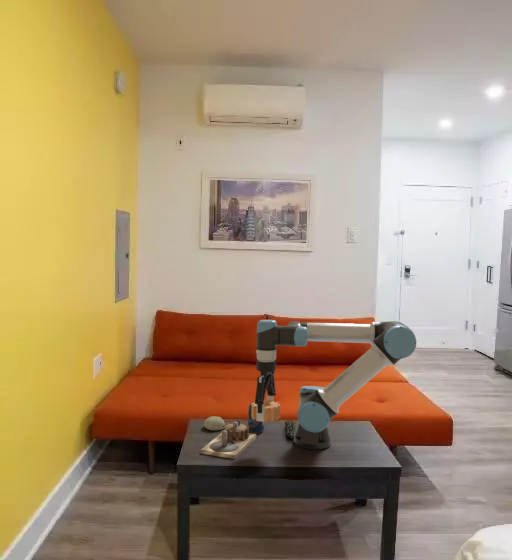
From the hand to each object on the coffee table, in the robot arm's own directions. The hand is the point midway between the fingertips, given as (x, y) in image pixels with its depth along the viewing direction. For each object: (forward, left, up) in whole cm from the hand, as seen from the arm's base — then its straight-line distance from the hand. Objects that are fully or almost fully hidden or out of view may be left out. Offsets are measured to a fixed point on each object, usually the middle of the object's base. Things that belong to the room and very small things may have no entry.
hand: (265, 416), depth 191 cm
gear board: (+15, -1, -14) cm, 20 cm away
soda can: (+11, -21, -14) cm, 27 cm away
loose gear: (0, 0, 0) cm, 0 cm away
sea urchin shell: (+29, -17, -14) cm, 36 cm away
